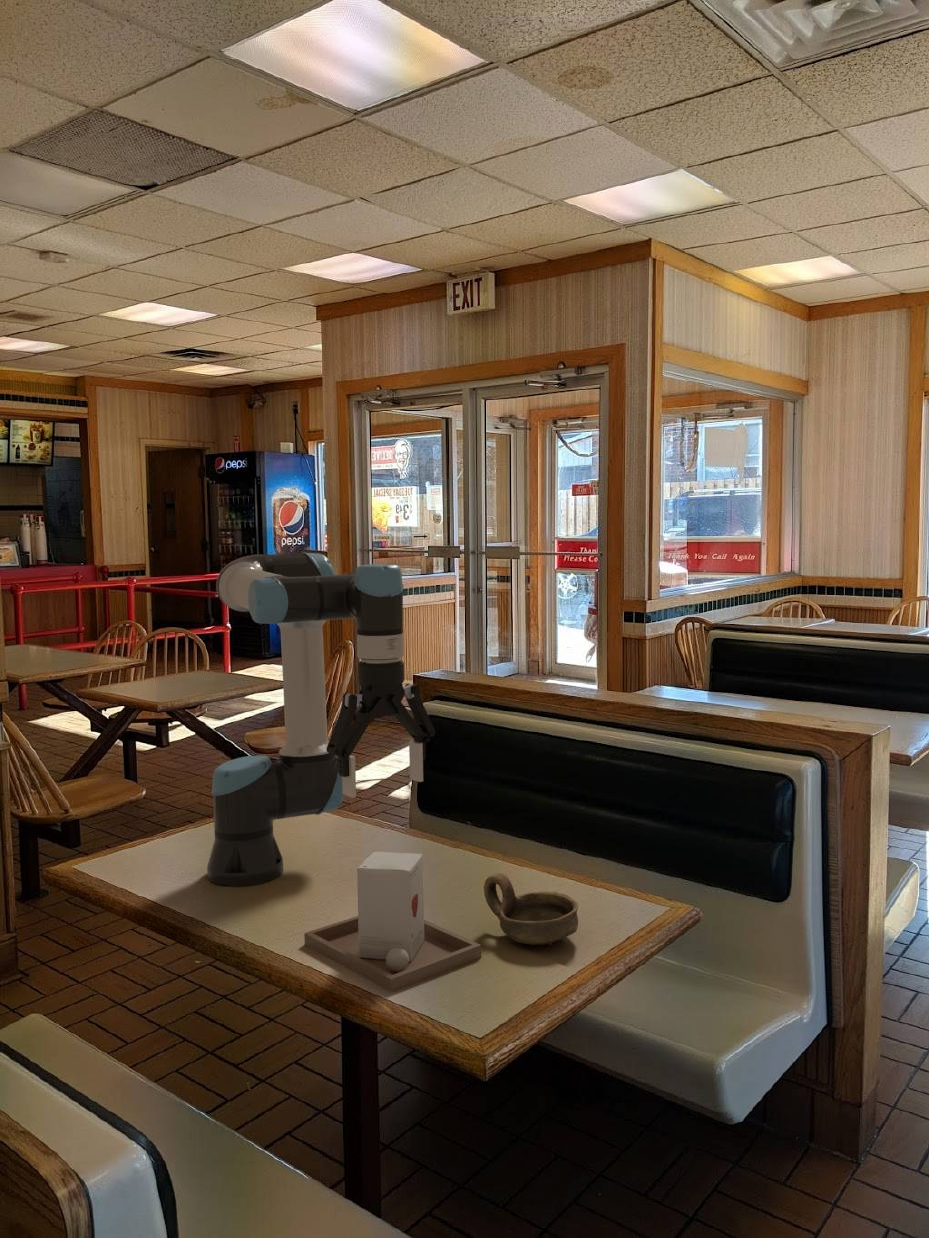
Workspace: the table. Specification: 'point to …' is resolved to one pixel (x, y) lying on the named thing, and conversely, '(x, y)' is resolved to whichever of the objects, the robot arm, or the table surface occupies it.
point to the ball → (397, 959)
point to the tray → (343, 948)
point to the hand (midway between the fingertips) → (383, 787)
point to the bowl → (531, 912)
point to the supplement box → (390, 904)
